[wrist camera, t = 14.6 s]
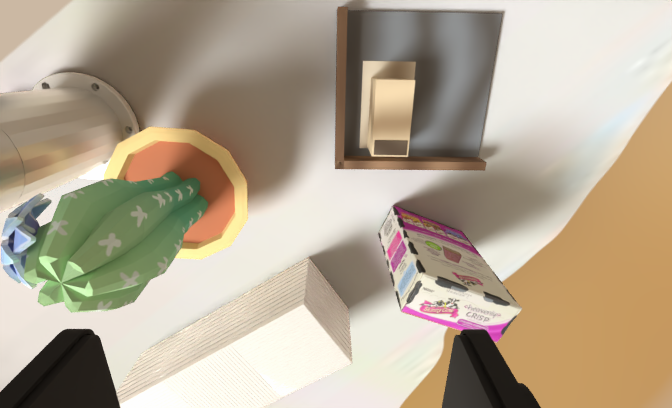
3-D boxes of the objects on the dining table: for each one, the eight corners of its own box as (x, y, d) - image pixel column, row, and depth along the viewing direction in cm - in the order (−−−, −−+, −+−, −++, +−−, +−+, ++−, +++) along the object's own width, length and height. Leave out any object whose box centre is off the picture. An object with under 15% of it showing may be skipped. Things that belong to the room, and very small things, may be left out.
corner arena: (334, 162, 45) (335, 168, 42) (337, 10, 38) (337, 6, 36) (475, 163, 45) (484, 170, 42) (500, 14, 39) (513, 10, 36)
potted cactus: (196, 86, 41) (21, 116, 18) (287, 181, 45) (243, 304, 22) (115, 170, 45) (-119, 286, 21) (207, 250, 49) (97, 418, 26)
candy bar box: (376, 234, 49) (397, 313, 33) (392, 203, 47) (422, 271, 32) (447, 260, 50) (498, 346, 35) (464, 231, 49) (526, 308, 33)
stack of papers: (187, 392, 59) (158, 459, 49) (142, 351, 56) (101, 414, 46) (348, 307, 53) (352, 363, 43) (308, 256, 50) (303, 304, 40)
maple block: (370, 77, 40) (376, 79, 36) (405, 78, 40) (415, 80, 36) (367, 146, 43) (371, 156, 39) (399, 146, 43) (408, 157, 39)
